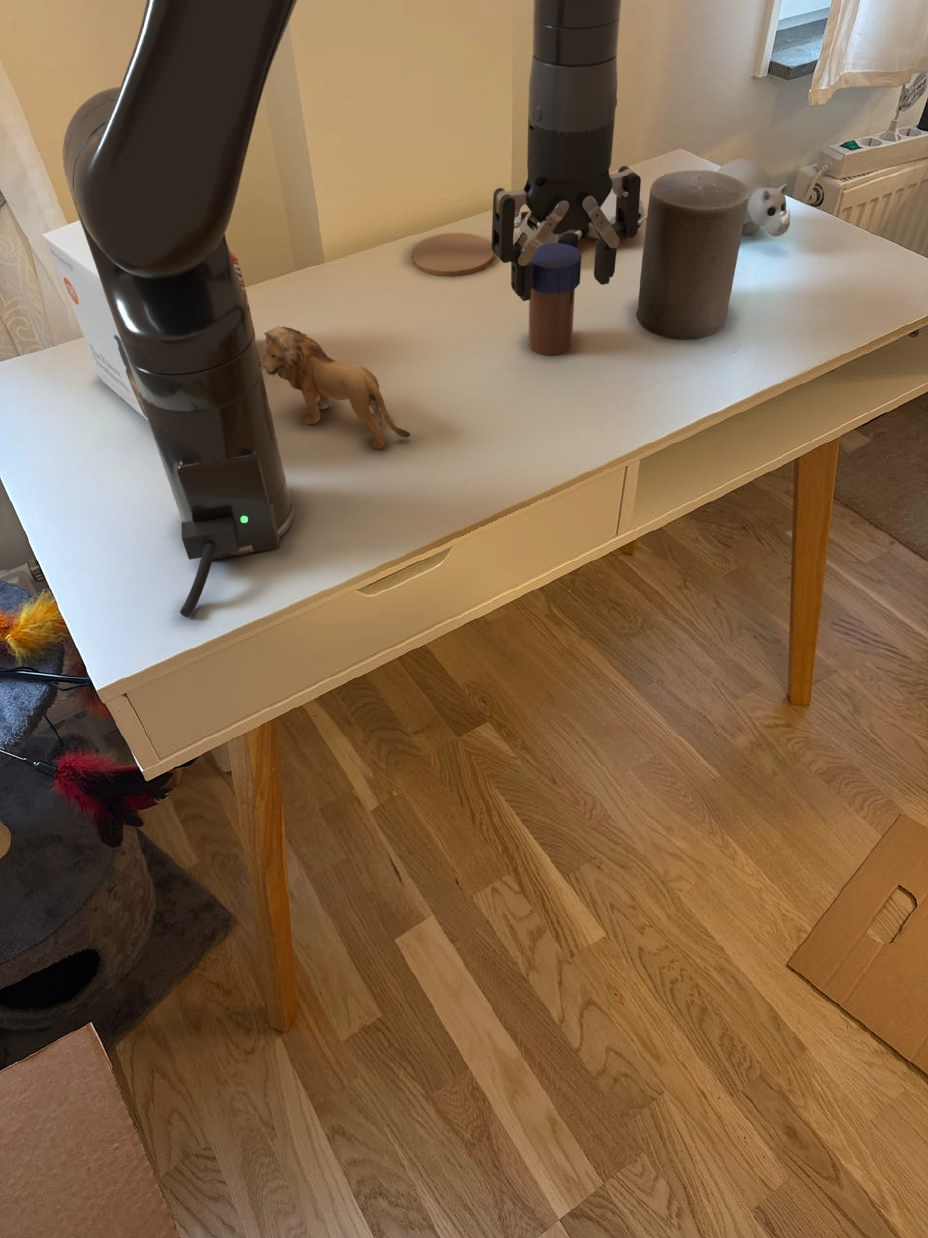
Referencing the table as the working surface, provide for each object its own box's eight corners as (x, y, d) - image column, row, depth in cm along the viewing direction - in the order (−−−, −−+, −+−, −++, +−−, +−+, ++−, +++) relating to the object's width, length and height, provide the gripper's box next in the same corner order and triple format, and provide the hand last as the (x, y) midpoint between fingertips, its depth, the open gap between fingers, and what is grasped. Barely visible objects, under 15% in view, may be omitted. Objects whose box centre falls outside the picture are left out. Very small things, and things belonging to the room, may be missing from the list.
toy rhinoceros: (755, 267, 108) (770, 192, 102) (689, 228, 116) (699, 157, 109) (801, 251, 111) (819, 177, 104) (734, 214, 118) (747, 143, 112)
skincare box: (95, 383, 96) (39, 231, 85) (142, 363, 99) (94, 212, 87) (199, 474, 85) (151, 314, 74) (250, 449, 88) (211, 290, 76)
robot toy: (560, 281, 109) (660, 238, 114) (559, 244, 106) (662, 201, 110) (502, 242, 117) (598, 203, 121) (500, 207, 113) (599, 167, 117)
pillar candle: (631, 335, 99) (646, 192, 88) (641, 291, 106) (656, 152, 95) (724, 344, 97) (751, 198, 86) (729, 298, 104) (755, 157, 93)
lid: (516, 284, 93) (516, 258, 91) (545, 263, 96) (546, 237, 94) (561, 299, 91) (562, 272, 89) (590, 277, 93) (591, 251, 91)
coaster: (502, 269, 110) (502, 264, 110) (420, 280, 109) (419, 276, 109) (483, 233, 117) (483, 228, 116) (405, 243, 116) (404, 238, 115)
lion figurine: (264, 422, 91) (245, 338, 84) (292, 393, 94) (276, 310, 87) (398, 456, 86) (389, 371, 79) (423, 424, 89) (417, 340, 83)
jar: (577, 351, 97) (583, 264, 90) (535, 358, 97) (538, 272, 90) (563, 329, 100) (567, 244, 94) (522, 336, 100) (523, 251, 93)
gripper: (626, 87, 85) (611, 260, 97) (479, 110, 82) (482, 285, 94) (665, 113, 80) (644, 292, 92) (510, 139, 77) (509, 320, 89)
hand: (562, 288), depth 93 cm, fingers open, 8 cm apart
